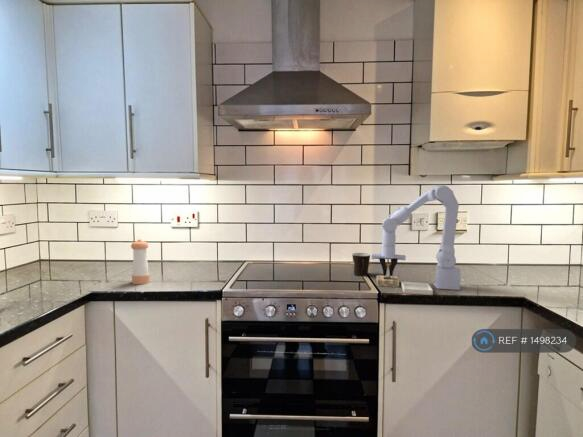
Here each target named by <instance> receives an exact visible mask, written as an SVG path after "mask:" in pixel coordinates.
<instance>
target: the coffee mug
mask: <svg viewBox="0 0 583 437" xmlns="http://www.w3.org/2000/svg"><path fill="white" fill-rule="evenodd" d="M370 260H371V254H370V253H366V252H354V253H352V266H353V275H354V276H357V275H358V276H357V277H366V275H367V276H368V272H369V266H370Z"/></svg>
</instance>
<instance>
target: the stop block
mask: <svg viewBox="0 0 583 437" xmlns="http://www.w3.org/2000/svg"><path fill="white" fill-rule="evenodd" d="M376 285H377V286H378V287H392V288H393V287H394V288H399V287H400V280H399V278H398V276H395V275H392V276H391V278H390V279H385V276H384V275H381V274H379V275H376Z"/></svg>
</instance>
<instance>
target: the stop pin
mask: <svg viewBox="0 0 583 437" xmlns="http://www.w3.org/2000/svg"><path fill="white" fill-rule="evenodd" d="M390 278H391V263H385V279H390Z"/></svg>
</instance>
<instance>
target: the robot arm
mask: <svg viewBox="0 0 583 437" xmlns="http://www.w3.org/2000/svg"><path fill="white" fill-rule="evenodd" d="M433 201H435V202H436V201H438V202H440V203H441V204H442V206H443V207H444V208H445V210H444V211H445V212H444V220H443V227H442V235H441V241H440V242H441V243H440V245H439V250H438V251H437V253H436V255H435V256H436V257H435V258H436V260H437V264H436V268H435V271H436V273H435V282H433V286H434V287H435V288H436V289H437V290H439V289H440V290H455V291H457V290H458V291H460V290H461V275H462V274H461V269H460V267H458V266H456V267H455V264H456V262H457V259H456V256H455V255H456V254H455V252H456V251H455V247H454V246H455V239H456V238H455V237H456V230H457V222H458V214H459V206H460V204H459V201H458V200H457V198H456V196H455V194H454V190H452V189H451V188H450V187H449V186H447V185H445V184H438V185H434V186H433V187H432V188H429V189H428V190H426V191H425V192H423V193H422V194H421V195H420V196H418V198H416V199H415V200H413V202H411V203H410V204H408V205H407V206H402V207H397V210H396V211H395V212H393V213H392V214H389V215H388V217H386V218H384V219H383V221H382V222H381V226H382V228H383V229H382V235H381V236H382V237H381V238H382V239H381V253H371V256H370V259H372V260H379V263H380V265H381V269H382V272H383V275H382V276H385V264H386V260H390V264H391V276H394V275H393V274H394V270H395V268H396V266H397V264H398V261H406V258H407V257H406V255H405V254H396V237H397V235H396V230H397V228H398V226H400V225H402V224H403V223H405V222H406V221H408V220H409V219H410V218H411V217H412V213H413V212H415V211H417V209H419V208H421V207H422V206H423V205H425V203H428V202H433Z"/></svg>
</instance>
